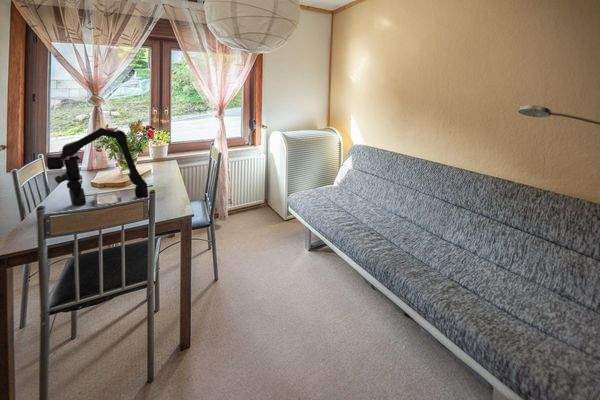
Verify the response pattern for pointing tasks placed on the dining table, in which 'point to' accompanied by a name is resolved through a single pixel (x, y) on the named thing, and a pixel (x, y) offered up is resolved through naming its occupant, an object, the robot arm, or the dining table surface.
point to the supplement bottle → (77, 201)
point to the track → (107, 199)
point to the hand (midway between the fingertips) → (77, 196)
